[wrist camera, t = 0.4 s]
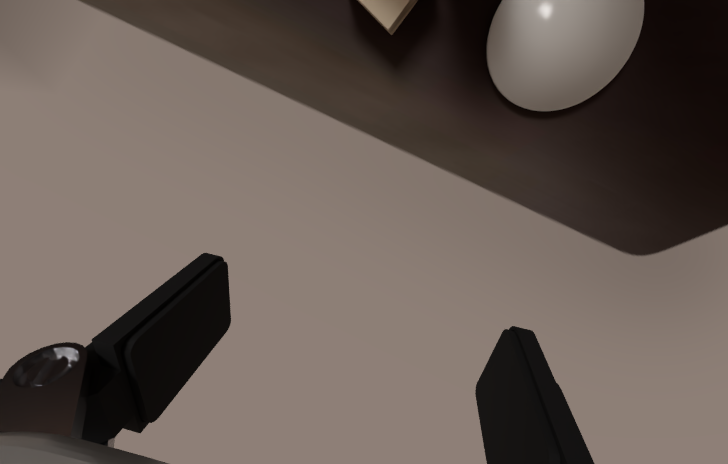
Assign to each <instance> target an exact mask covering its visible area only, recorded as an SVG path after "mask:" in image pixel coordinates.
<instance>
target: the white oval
mask: <svg viewBox="0 0 728 464" xmlns="http://www.w3.org/2000/svg"><path fill="white" fill-rule="evenodd" d="M643 17H644V0H502V1H501V3H500V4H499V6H498V8H497V10H496V12H495V14H494V16H493V19H492V22H491V25H490V28H489V32H488V37H487V45H486V59H487V66H488V70H489V74H490V76H491V79H492V81H493V83H494V85H495V86H496V88H497V89H498V91H499V92H500V93H501V94H502V95H503V96H504V97H505V98H506V99H507V100H509V101H510V102H512V103H513V104H515V105H517V106H520V107H522V108H525V109H530V110H534V111H555V110H561V109H565V108H568V107H571V106H574V105H576V104H579V103H581V102H583V101H584V100H586V99H588V98H590V97H591V96H593V95H594V94H596V93H597V92H599V91H600V90H601V89H602V88H604V87H605V86H606V85H607V84H608V83H609V82H610V81H611V80H612V79H613V78H614V77H615V76H616V75H617V74H618V72H619V71H620V70H621V69H622V67H623V66H624V64H625V63H626V61H627V60H628V59H629V57H630V55H631V53H632V51H633V49H634V47H635V45H636V43H637V40H638V38H639V34H640V31H641V28H642V23H643Z"/></svg>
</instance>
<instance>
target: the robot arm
mask: <svg viewBox="0 0 728 464" xmlns="http://www.w3.org/2000/svg"><path fill="white" fill-rule="evenodd" d="M230 323H231V315H230V297H229V280H228V265H227V263H226V262H224V260H223V258H222V257H220V256H216V255H212V254H208V253H203V254H201V255H200V256H199V257H198V258H196V259H195V260H194V261H192V262H191V263H190V264H189V265H187V266H186V267H185V268H183V269H182V270H181V271H180V272H178V273H177V274H176V275H174V276H173V277H172V278H170V279H169V280H168V281H167V282H165V283H164V284H163V285H161V286H160V287H159V288H158V289H156V290H155V291H154V292H153V293H151V294H150V295H148V296H147V297H146V298H145V299H143V300H142V301H141V302H139V303H138V304H137V305H136V306H134V307H133V308H132V309H130V310H129V311H128V312H127V313H125V314H124V315H123V316H122V317H120V318H119V319H118V320H116V321H115V322H114V323H112V324H111V325H110V326H109V327H107V328H106V329H105V330H103V331H102V332H101V333H99V334H98V335H97V336H96V337H94V338H93V339H92V343H90V344H89V345H88V346H86V347H84V346H83V345H80V344H77V343H70V342H66V343H58V344H53V345H50V346H46V347H43V348H40V349H38V350H36V351H34V352H32V353H29V354H28V355H26V356H25V357H23V358H21V359H20V360H18V361H17V362H16V363H15V364H14V365H13V366H12V367H11V368H9V370H8V371H7V373H6V374H5V376H4V377H3V379H0V464H168V463H165V462H161V461H158V460H154V459H151V458H147V457H144V456H141V455H137V454H133V453H129V452H126V451H122V450H119V449H115V448H114V438H115V436H116V435H117V434H118V433H119V432H120V431H121V429H122V428H124V429H127V430H131V431H134V432H138V433H141V432H142V431H143V429H144V428H145V427H146V426H147V425H148V423H149V422H150V423H152V422H154V421H155V420H157V418H159V416H160V415H161V414H162V413H163V411H164V410H165V409H166V408H167V406H168V405H169V404H170V402H171V401H172V400H173V399H174V397H175V396H176V395H177V394H178V392H179V391H180V390H181V389H182V387H183V386H184V385H185V384H186V382H187V381H188V379H189V378H190V377H191V376H192V375H193V373H194V372H195V371H196V370H197V368H198V367H199V366H200V365H201V363H202V362H203V361H204V359H205V358H206V357H207V355H208V354H209V353H210V352H211V350H212V349H213V348H214V347H215V346H216V344H217V343H218V342H219V341H220V339H221V338H222V337H223V335H224V334H225V333H226V332H227V330H228V328H229V326H230ZM476 400H477V406H478V412H479V417H480V418H479V419H480V425H481V430H482V436H483V442H484V449H485V455H486V460H487V464H594V462H593V460H592V458H591V455H590V453H589V451H588V449H587V447H586V444H585V442H584V440H583V438H582V435H581V433H580V431H579V428H578V426H577V424H576V422H575V419H574V417H573V415H572V413H571V411H570V408H569V406H568V404H567V402H566V399H565V397H564V395H563V393H562V390H561V389H560V387H559V385H558V384H557V383H556V381H555V379H554V377H553V375H552V372H551V370H550V368H549V366H548V363H547V361H546V359H545V357H544V354H543V352H542V350H541V348H540V345H539V343H538V341H537V338H536V336H535V334H534V332H533V331H531V330H527V329H523V328H519V327H515V326H512V327H511V328H510V329H509V330H507V329H505V330H504V331H503V332H502V334H501V336H500V338H499V340H498V342H497V344H496V346H495V348H494V350H493V352H492V354H491V356H490V358H489V361H488V363H487V364H486V367H485V369H484V371H483V372H482V374H481V376H480V378H479V381H478V382H477V385H476Z"/></svg>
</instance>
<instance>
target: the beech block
mask: <svg viewBox="0 0 728 464" xmlns="http://www.w3.org/2000/svg"><path fill="white" fill-rule="evenodd" d="M357 1H358V2H359V3H360V4H361V5H362V6H363V7H364V8H365V9H366V10H367V11H368V12H369V13H370V14H371V15H372V16H373V17H374V18H375V19H376V20H377V21H378V22H379V23H380V24H381V25H382V26H383V27H384V28H385V29H386V30H387V31H388V32H389V33H390V34H391V35H393V33H394V32H395V31H396V29H397V28H398V27H399V25H400V24H401V23H402V21H403V20H404V19H405V17H406V16H407V15H408V13H409V12H410V11H411V9H412V8H413V7H414V5H415V4H416V2H417V1H418V0H357Z"/></svg>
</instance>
